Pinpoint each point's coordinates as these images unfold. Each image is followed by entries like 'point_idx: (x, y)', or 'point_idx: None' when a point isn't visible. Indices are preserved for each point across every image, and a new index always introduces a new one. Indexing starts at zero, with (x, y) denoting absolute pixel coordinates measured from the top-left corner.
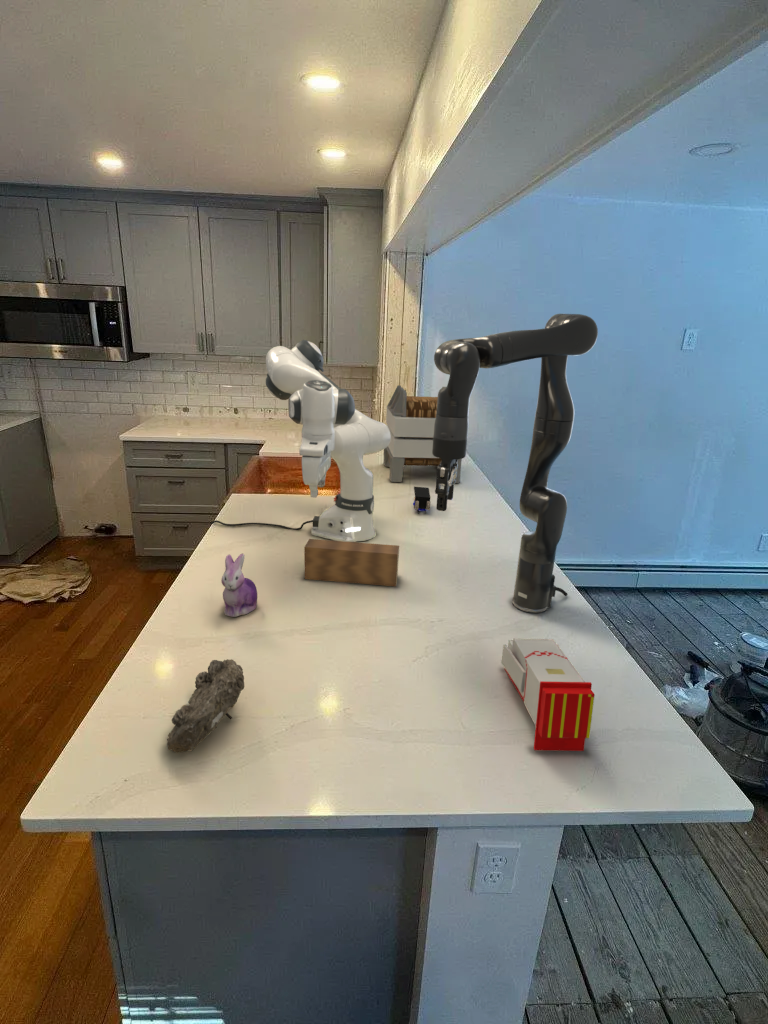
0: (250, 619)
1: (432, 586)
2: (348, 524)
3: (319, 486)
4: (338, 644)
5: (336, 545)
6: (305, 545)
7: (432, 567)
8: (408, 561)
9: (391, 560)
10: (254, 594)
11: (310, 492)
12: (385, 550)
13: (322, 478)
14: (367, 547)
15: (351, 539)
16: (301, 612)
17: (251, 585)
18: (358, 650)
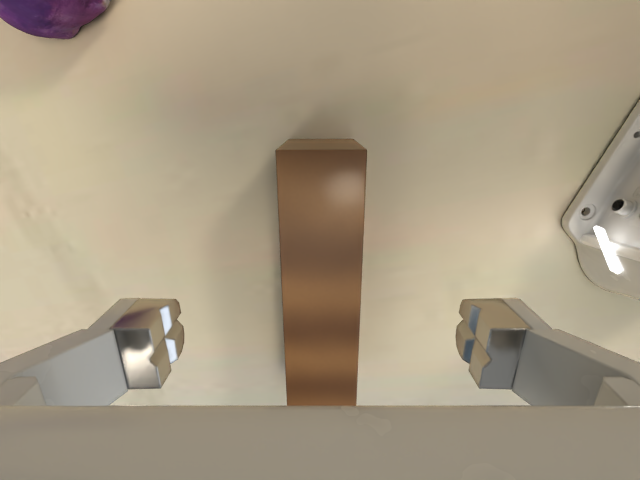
0: (9, 43)
1: None
2: (636, 237)
3: (461, 311)
4: (8, 284)
5: (316, 266)
6: (291, 151)
7: None
8: (440, 382)
9: None
10: (21, 27)
11: (100, 318)
12: None
13: (541, 384)
14: (321, 361)
15: (577, 234)
16: (101, 176)
17: (10, 3)
18: (7, 322)
